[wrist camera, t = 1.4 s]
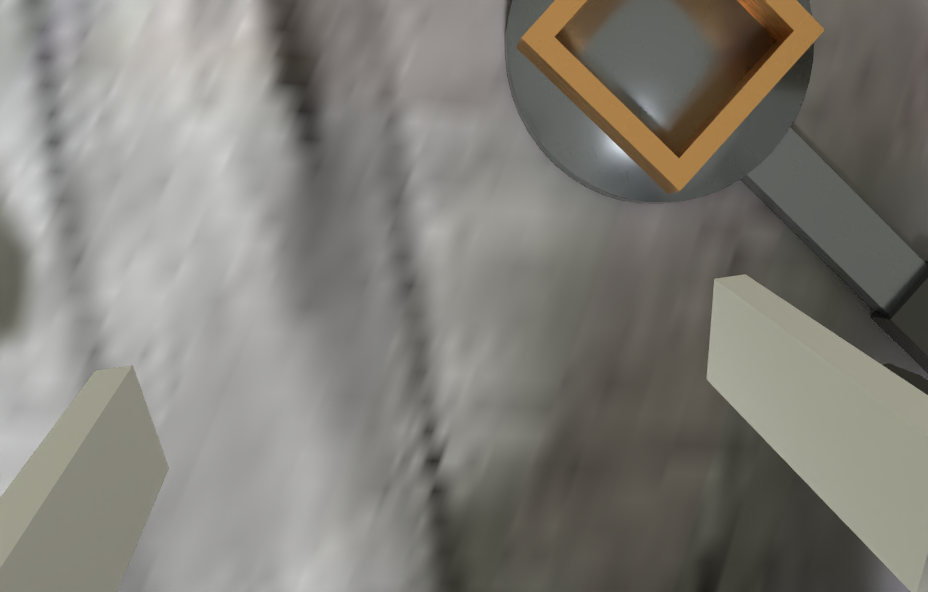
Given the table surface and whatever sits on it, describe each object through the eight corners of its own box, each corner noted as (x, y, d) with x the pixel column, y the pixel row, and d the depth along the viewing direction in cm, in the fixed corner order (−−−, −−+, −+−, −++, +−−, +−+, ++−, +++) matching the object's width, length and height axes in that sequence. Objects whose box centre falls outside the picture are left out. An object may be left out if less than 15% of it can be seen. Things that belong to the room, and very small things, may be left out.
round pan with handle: (440, 56, 35) (443, 39, 32) (649, -175, 35) (669, -212, 32) (867, 460, 38) (903, 476, 35) (1056, 250, 38) (1106, 250, 35)
